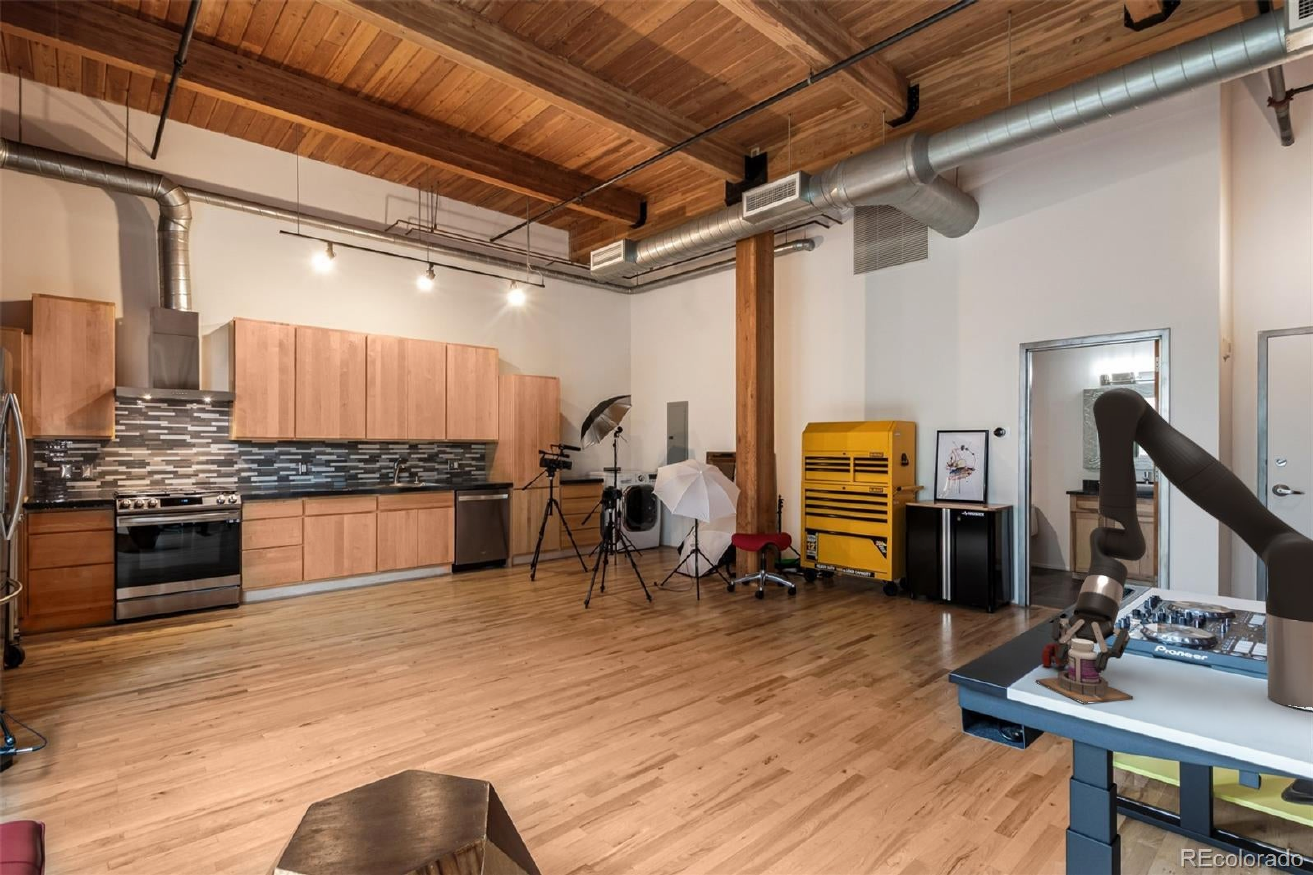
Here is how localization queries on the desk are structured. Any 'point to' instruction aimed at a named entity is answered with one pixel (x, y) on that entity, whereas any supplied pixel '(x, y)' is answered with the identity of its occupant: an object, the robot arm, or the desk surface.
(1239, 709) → the desk surface
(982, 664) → the desk surface
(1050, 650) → the dark red upright piece
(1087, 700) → the collar
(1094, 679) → the pill bottle
